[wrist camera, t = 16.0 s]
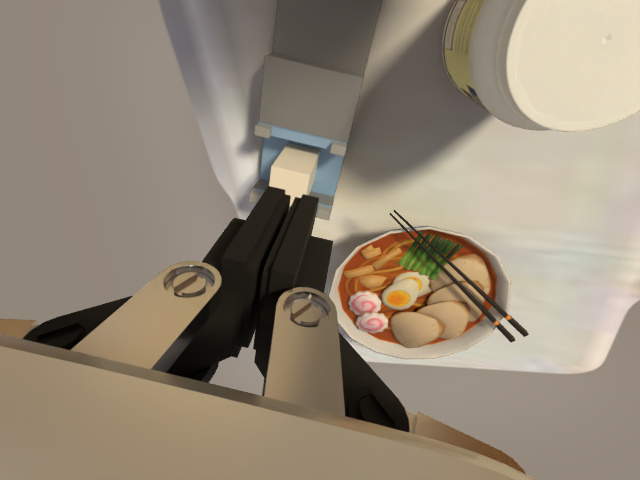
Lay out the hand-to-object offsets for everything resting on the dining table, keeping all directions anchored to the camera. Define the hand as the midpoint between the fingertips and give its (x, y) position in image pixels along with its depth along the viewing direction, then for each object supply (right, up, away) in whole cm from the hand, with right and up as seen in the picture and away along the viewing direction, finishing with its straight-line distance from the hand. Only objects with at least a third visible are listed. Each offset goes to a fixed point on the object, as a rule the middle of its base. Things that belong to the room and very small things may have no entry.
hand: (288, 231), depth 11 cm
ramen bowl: (+15, -4, +38) cm, 41 cm away
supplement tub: (+19, +20, +22) cm, 35 cm away
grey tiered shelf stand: (0, +16, +27) cm, 31 cm away
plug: (-1, +9, +30) cm, 31 cm away
